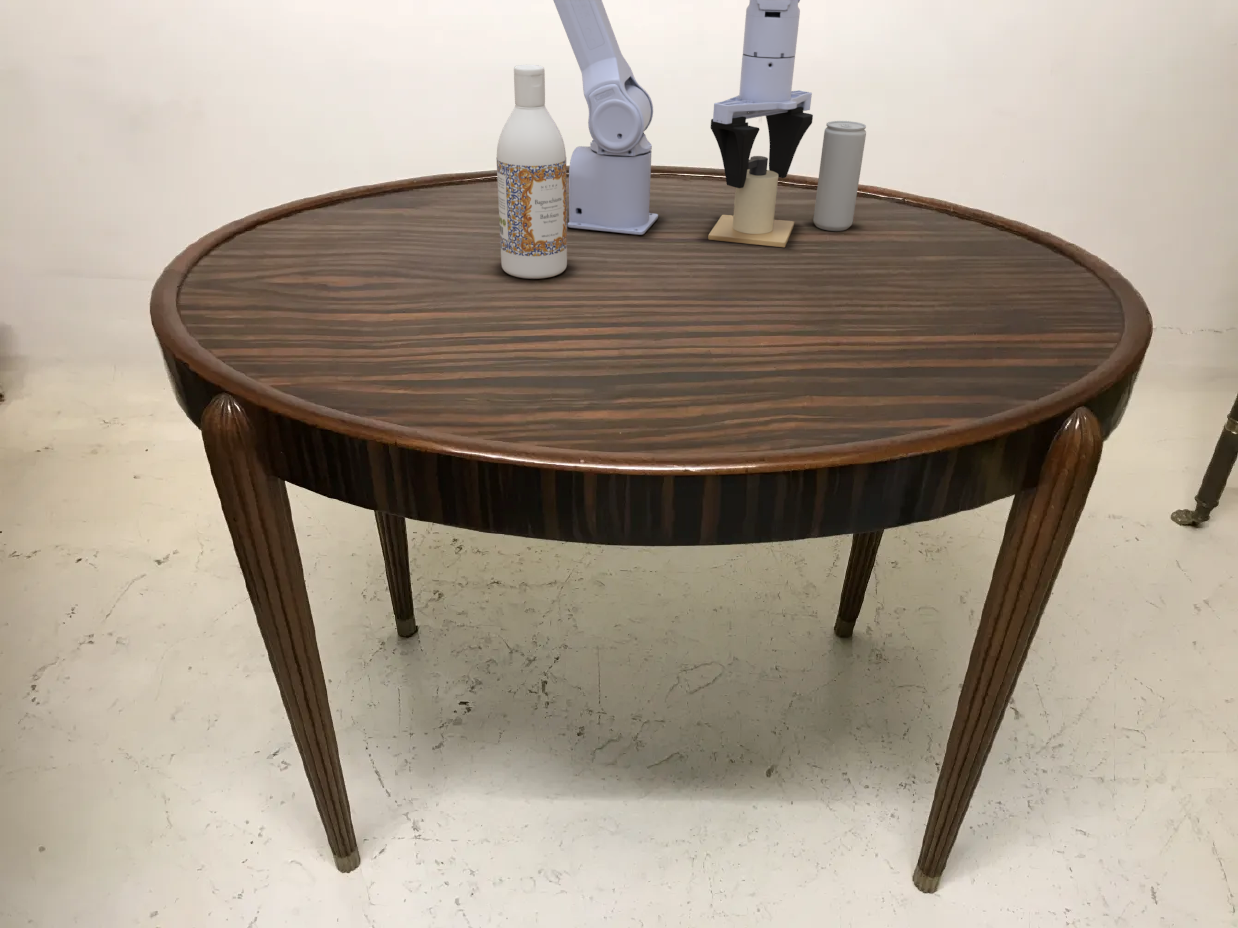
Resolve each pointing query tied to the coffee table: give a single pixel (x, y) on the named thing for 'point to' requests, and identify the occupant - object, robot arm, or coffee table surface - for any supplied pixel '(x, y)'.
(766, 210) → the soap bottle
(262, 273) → the coffee table surface
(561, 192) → the bath foam
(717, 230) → the coaster
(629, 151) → the robot arm
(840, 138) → the beverage can
